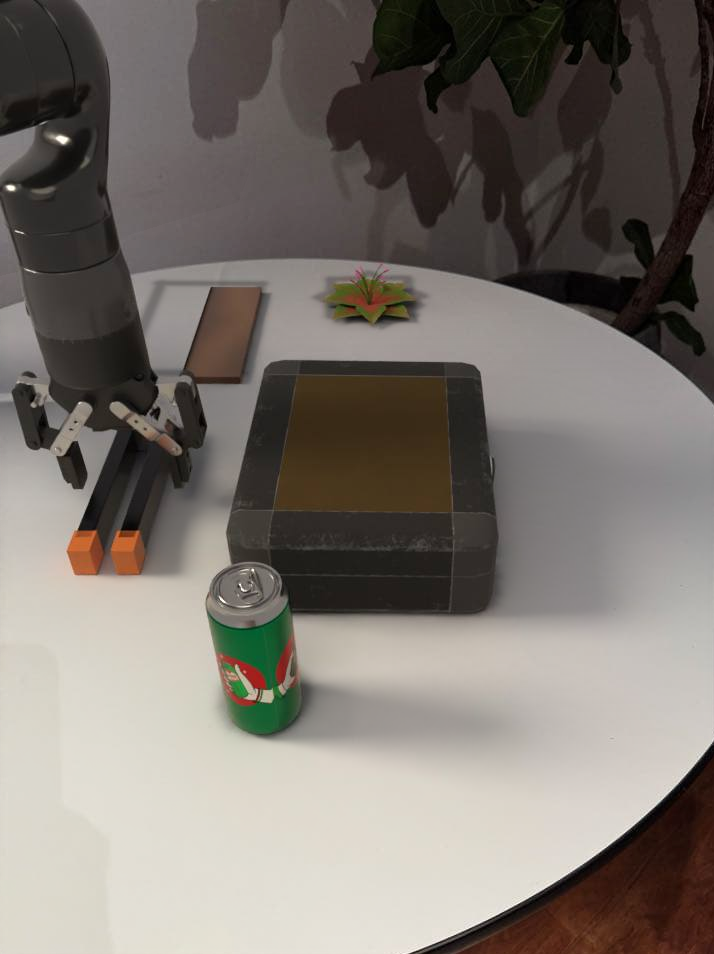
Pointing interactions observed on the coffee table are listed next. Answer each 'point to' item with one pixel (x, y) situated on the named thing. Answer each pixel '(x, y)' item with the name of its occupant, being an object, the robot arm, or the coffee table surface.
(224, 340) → the board
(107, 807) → the coffee table surface
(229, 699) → the soda can
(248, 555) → the cash box
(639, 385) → the coffee table surface
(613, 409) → the coffee table surface
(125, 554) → the tongs
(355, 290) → the lily flower
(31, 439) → the robot arm
